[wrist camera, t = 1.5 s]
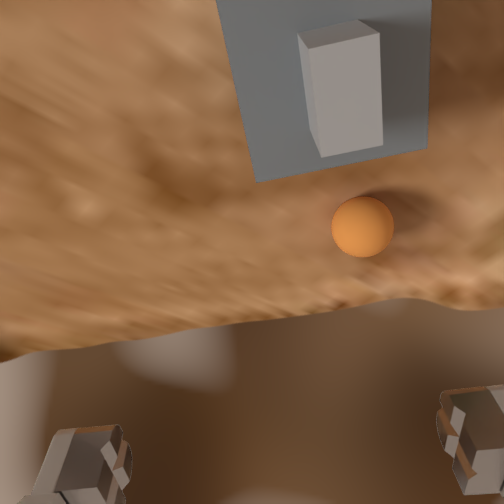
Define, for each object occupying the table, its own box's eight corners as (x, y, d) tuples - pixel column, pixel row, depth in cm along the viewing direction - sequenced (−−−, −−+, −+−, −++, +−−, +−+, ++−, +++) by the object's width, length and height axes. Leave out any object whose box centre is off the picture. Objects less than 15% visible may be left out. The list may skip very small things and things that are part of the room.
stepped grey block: (380, -61, 27) (473, -64, 16) (384, 103, 33) (455, 178, 22) (218, -22, 28) (210, 0, 17) (251, 131, 34) (259, 216, 23)
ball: (341, 178, 36) (355, 208, 32) (394, 194, 37) (414, 225, 33) (317, 227, 39) (327, 261, 35) (367, 241, 40) (383, 275, 36)
